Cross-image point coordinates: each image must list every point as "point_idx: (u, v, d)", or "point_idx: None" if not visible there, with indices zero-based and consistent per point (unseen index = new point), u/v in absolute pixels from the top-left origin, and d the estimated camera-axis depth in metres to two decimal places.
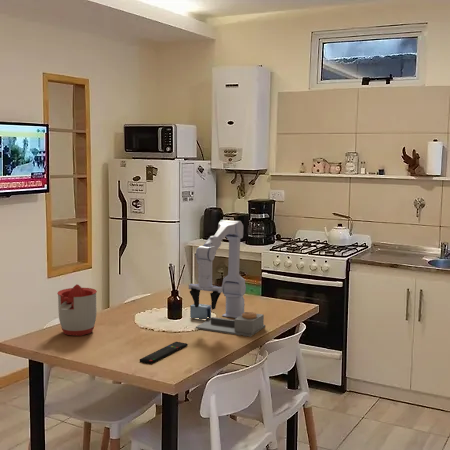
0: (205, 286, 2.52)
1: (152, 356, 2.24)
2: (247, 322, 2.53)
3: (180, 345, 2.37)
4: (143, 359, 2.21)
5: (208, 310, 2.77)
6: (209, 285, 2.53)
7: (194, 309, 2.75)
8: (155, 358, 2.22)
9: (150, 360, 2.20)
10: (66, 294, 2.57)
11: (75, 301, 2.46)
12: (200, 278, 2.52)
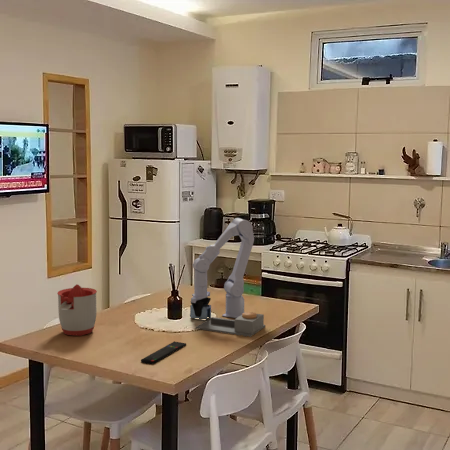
0: (194, 294, 2.76)
1: (153, 356, 2.24)
2: (247, 322, 2.53)
3: (179, 345, 2.37)
4: (144, 359, 2.21)
5: (208, 310, 2.77)
6: (195, 294, 2.74)
7: None
8: (156, 358, 2.22)
9: (152, 360, 2.20)
10: (66, 294, 2.57)
11: (75, 301, 2.46)
12: None
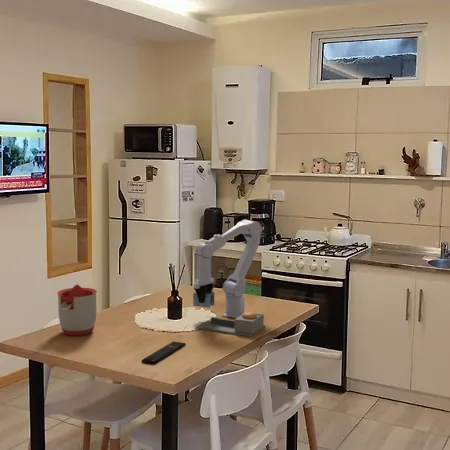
0: (197, 280, 2.72)
1: (153, 356, 2.24)
2: (247, 322, 2.53)
3: (178, 345, 2.37)
4: (145, 360, 2.21)
5: (211, 297, 2.73)
6: (199, 280, 2.70)
7: (197, 296, 2.72)
8: (157, 358, 2.22)
9: (153, 360, 2.20)
10: (66, 294, 2.57)
11: (75, 301, 2.46)
12: None
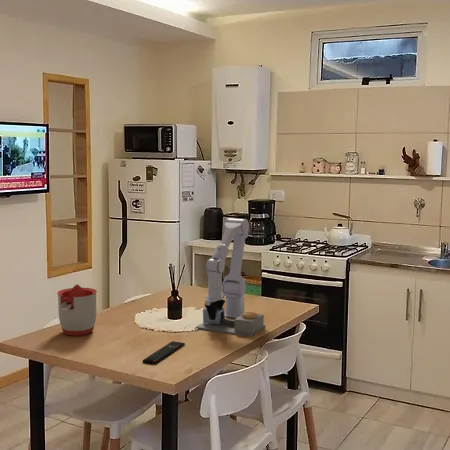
0: (208, 296, 2.65)
1: (154, 356, 2.24)
2: (247, 322, 2.53)
3: (178, 345, 2.37)
4: (146, 360, 2.20)
5: (221, 313, 2.66)
6: (209, 296, 2.63)
7: (207, 313, 2.65)
8: (158, 358, 2.22)
9: (154, 360, 2.20)
10: (66, 294, 2.57)
11: (75, 301, 2.46)
12: None
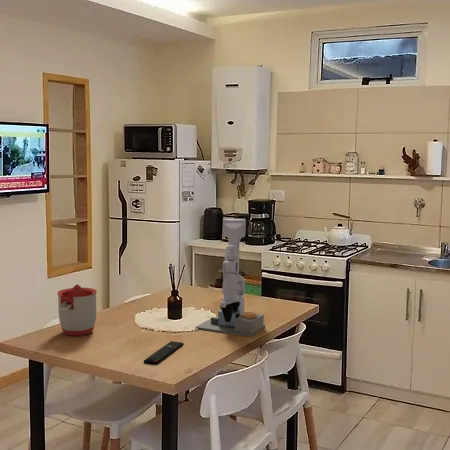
0: (223, 298, 2.62)
1: (155, 356, 2.24)
2: (247, 322, 2.53)
3: (177, 344, 2.38)
4: (147, 360, 2.20)
5: (237, 316, 2.63)
6: (225, 298, 2.60)
7: (222, 315, 2.62)
8: (159, 358, 2.22)
9: (155, 360, 2.20)
10: (66, 294, 2.57)
11: (75, 301, 2.46)
12: None
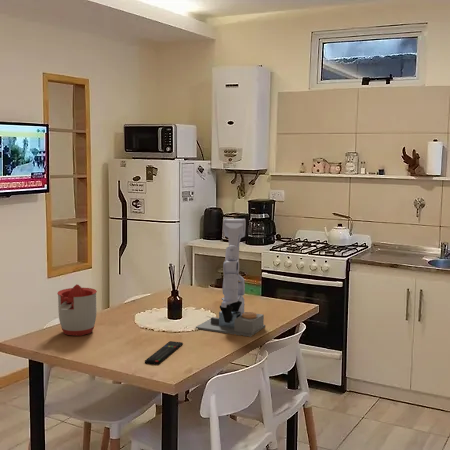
0: (224, 298, 2.62)
1: (155, 357, 2.24)
2: (247, 322, 2.53)
3: (176, 344, 2.38)
4: (148, 360, 2.20)
5: None
6: (225, 298, 2.60)
7: None
8: (160, 358, 2.22)
9: (156, 360, 2.20)
10: (66, 294, 2.57)
11: (75, 301, 2.46)
12: None
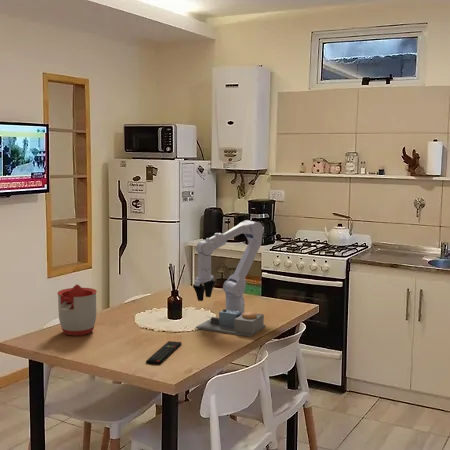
0: (198, 277, 2.73)
1: (156, 357, 2.24)
2: (247, 322, 2.53)
3: (175, 344, 2.38)
4: (150, 360, 2.20)
5: None
6: (199, 277, 2.71)
7: (223, 316, 2.62)
8: (161, 358, 2.22)
9: (157, 360, 2.20)
10: (66, 294, 2.57)
11: (75, 301, 2.46)
12: None
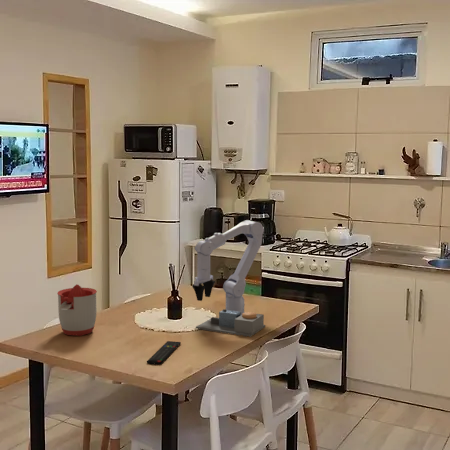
0: (197, 277, 2.73)
1: (157, 357, 2.24)
2: (247, 322, 2.53)
3: (175, 344, 2.38)
4: (150, 361, 2.20)
5: None
6: (198, 277, 2.71)
7: (223, 316, 2.62)
8: (162, 358, 2.22)
9: (158, 361, 2.20)
10: (66, 294, 2.57)
11: (75, 301, 2.46)
12: None
